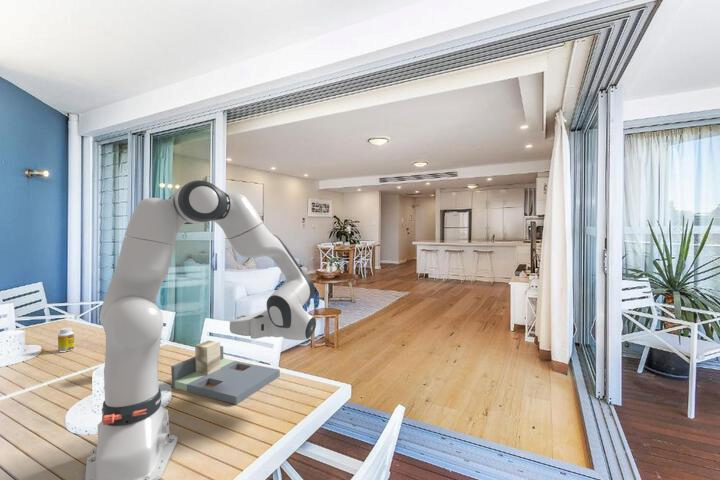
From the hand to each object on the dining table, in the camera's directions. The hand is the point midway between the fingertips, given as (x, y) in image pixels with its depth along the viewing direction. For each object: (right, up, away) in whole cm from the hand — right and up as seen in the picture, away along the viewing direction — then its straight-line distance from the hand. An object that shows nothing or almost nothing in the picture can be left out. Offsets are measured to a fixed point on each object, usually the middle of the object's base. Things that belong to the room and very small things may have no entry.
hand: (239, 318), depth 118 cm
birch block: (-14, -21, +7) cm, 27 cm away
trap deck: (-5, -24, +3) cm, 25 cm away
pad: (-15, -24, +8) cm, 29 cm away
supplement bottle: (-93, -24, +36) cm, 102 cm away
